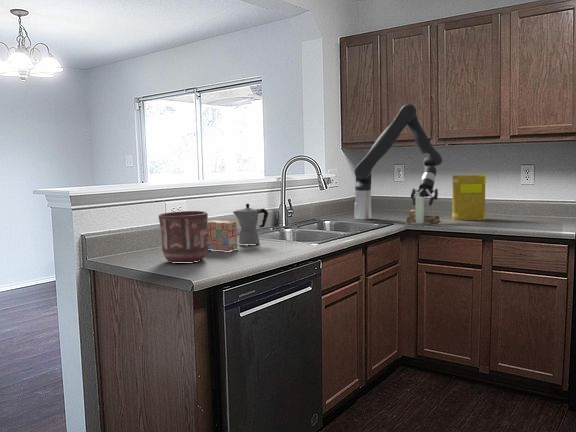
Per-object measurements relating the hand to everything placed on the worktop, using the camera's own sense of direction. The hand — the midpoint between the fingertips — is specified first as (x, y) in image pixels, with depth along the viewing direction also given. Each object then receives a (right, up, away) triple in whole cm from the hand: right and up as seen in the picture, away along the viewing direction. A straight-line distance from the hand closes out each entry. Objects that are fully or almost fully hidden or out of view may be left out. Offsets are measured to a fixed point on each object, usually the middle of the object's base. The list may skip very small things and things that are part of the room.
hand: (422, 204), depth 280 cm
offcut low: (-2, -8, +9) cm, 12 cm away
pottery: (-111, -23, -87) cm, 143 cm away
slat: (-2, -10, -3) cm, 11 cm away
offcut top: (-2, -6, +9) cm, 11 cm away
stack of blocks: (-104, -21, -64) cm, 124 cm away
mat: (-2, -11, -3) cm, 11 cm away
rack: (+2, -10, +7) cm, 12 cm away
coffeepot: (-89, -19, -53) cm, 105 cm away
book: (+29, -8, +12) cm, 32 cm away
